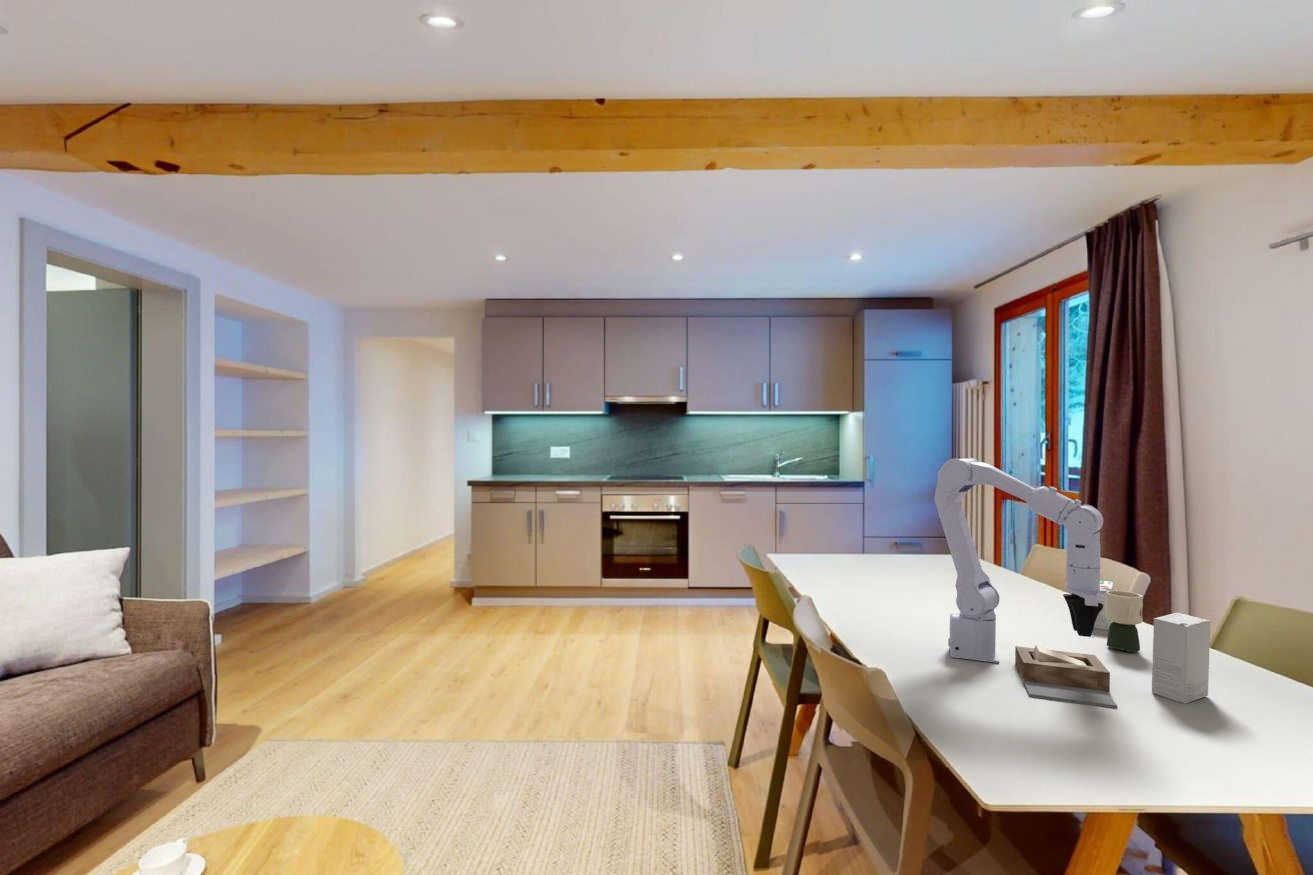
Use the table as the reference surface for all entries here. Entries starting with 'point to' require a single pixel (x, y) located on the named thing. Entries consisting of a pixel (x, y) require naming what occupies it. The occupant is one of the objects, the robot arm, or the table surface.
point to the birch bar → (1054, 656)
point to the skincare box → (1181, 657)
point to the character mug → (1123, 619)
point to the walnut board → (1063, 670)
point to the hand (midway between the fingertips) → (1082, 633)
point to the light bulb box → (1101, 620)
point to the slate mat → (1069, 694)
